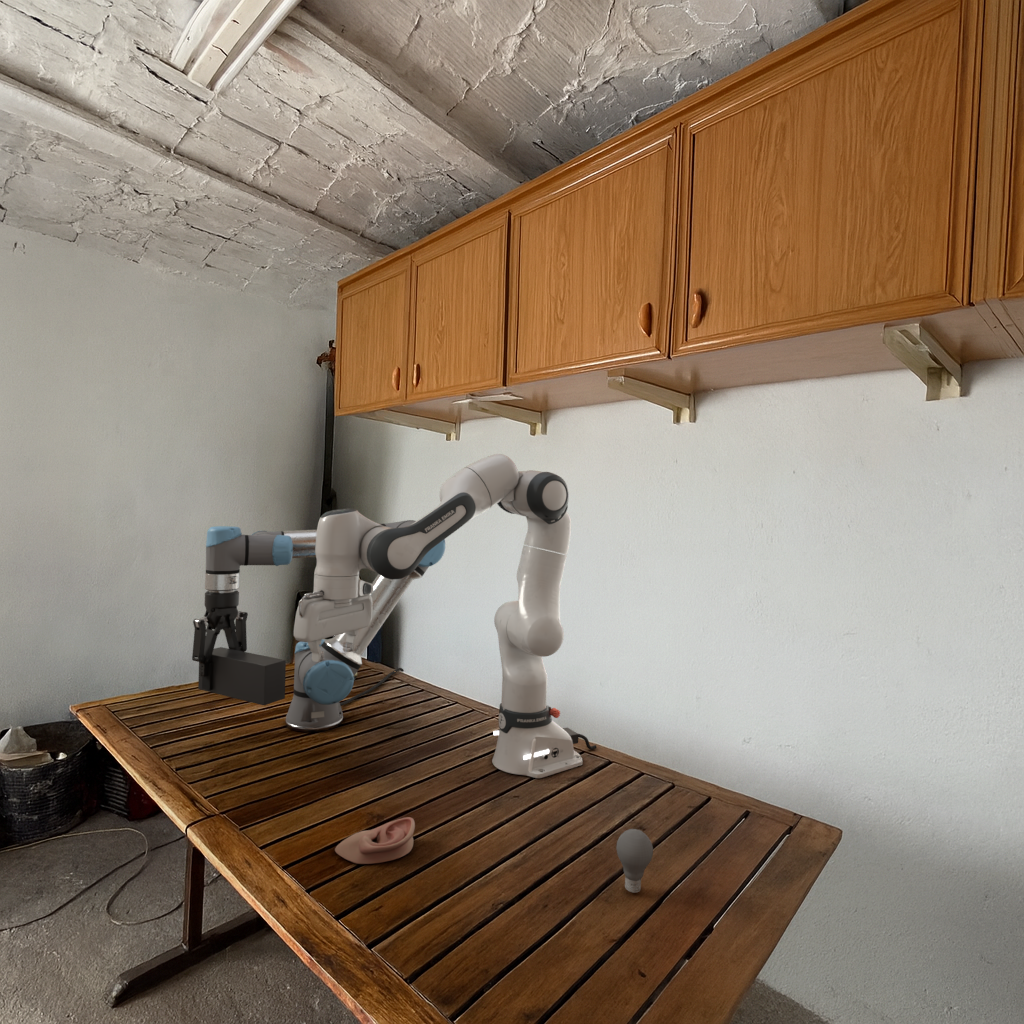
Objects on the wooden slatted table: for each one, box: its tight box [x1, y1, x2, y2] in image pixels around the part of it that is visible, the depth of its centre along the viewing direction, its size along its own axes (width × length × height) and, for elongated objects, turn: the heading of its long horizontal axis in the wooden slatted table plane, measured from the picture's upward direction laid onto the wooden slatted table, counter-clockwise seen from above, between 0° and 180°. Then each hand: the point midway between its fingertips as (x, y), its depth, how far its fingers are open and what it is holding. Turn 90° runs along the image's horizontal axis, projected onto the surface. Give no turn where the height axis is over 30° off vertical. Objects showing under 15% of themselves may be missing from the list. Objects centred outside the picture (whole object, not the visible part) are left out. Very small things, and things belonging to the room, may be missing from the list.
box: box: [197, 646, 287, 706], centre depth 150 cm, size 22×6×9 cm, turn 63°
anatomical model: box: [334, 816, 416, 865], centre depth 115 cm, size 13×4×12 cm
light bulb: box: [615, 828, 654, 894], centre depth 106 cm, size 6×6×10 cm
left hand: (219, 685), depth 153 cm, fingers closed on box, 6 cm apart
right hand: (333, 656), depth 129 cm, fingers open, 8 cm apart
